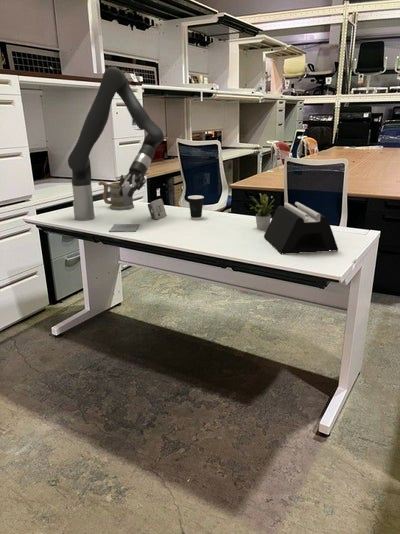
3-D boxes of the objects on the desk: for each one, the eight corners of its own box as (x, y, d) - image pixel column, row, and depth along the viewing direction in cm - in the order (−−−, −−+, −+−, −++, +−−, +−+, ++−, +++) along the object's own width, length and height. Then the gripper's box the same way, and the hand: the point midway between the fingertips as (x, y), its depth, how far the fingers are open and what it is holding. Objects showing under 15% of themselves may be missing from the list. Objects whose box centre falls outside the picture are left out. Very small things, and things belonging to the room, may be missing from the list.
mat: (109, 232, 188) (109, 230, 188) (114, 225, 200) (114, 224, 199) (135, 231, 188) (135, 230, 188) (139, 225, 199) (139, 223, 199)
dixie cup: (203, 216, 214) (203, 195, 211) (204, 220, 207) (204, 198, 203) (187, 217, 214) (187, 195, 210) (188, 220, 206) (188, 198, 203)
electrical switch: (156, 220, 208) (154, 201, 206) (148, 220, 211) (146, 201, 208) (167, 216, 216) (164, 198, 213) (158, 216, 219) (156, 198, 216)
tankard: (137, 206, 241) (135, 180, 235) (126, 211, 230) (123, 183, 224) (107, 204, 247) (105, 178, 242) (95, 208, 236) (92, 182, 231)
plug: (121, 205, 190) (119, 182, 186) (127, 203, 193) (126, 180, 190) (128, 206, 188) (127, 183, 184) (135, 204, 191) (133, 181, 188)
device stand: (280, 255, 155) (282, 215, 150) (263, 238, 176) (265, 203, 171) (337, 251, 158) (341, 212, 153) (314, 235, 179) (317, 201, 174)
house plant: (241, 225, 196) (242, 190, 191) (269, 223, 199) (270, 189, 193) (251, 232, 183) (252, 196, 178) (280, 230, 186) (282, 194, 180)
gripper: (124, 159, 193) (108, 189, 188) (149, 161, 187) (133, 192, 181) (132, 169, 199) (116, 198, 194) (156, 171, 193) (141, 202, 187)
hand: (124, 195), depth 187 cm, fingers closed on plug, 4 cm apart
